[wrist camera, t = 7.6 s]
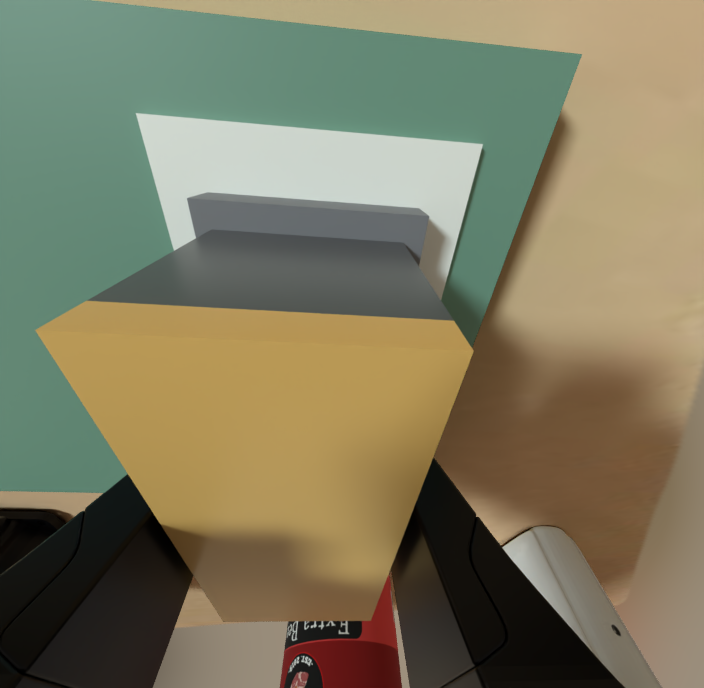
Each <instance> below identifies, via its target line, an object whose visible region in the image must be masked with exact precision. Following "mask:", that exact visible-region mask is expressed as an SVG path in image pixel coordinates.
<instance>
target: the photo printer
mask: <svg viewBox="0 0 704 688" xmlns="http://www.w3.org/2000/svg"><path fill="white" fill-rule="evenodd" d="M502 548H503V549H504V551H505V552H506V553H507V554H508V556H509V557H510V558H511V559H512V561H513V562H514V563H515V564H516V565H517V566H518V568H519V569H520V570H521V571H522V572H523V573H524V575H525V576H526V577H527V578H528V579H529V580H530V582H531V583H532V584H533V585H534V586H535V588H536V589H537V590H538V591H539V592H540V593H541V594H542V595H543V597H544V598H545V599H546V600H547V601H548V602H549V603H550V605H551V606H552V607H553V608H554V609H555V610H556V611H557V612H558V614H559V615H560V616H561V617H562V618H563V619H564V620H565V622H566V623H567V624H568V625H569V626H570V627H571V628H572V629H573V631H574V632H575V633H576V634H577V635H578V636H579V637H580V639H581V640H582V641H583V642H584V643H585V644H586V645H587V646H588V648H589V649H590V650H591V651H592V652H593V653H594V654H595V656H596V657H597V658H598V659H599V660H600V661H601V662H602V663H603V665H604V666H605V667H606V668H607V669H608V670H609V671H610V672H611V673H612V674H613V676H614V677H615V678H616V679H617V680H618V681H619V682H620V683H621V684H622V685H623V686H624V687H625V688H662V686H661V685H660V683H659V681H658V680H657V678H656V676H655V675H654V673H653V672H652V670H651V668H650V666H649V665H648V663H647V661H646V660H645V658H644V656H643V655H642V653H641V651H640V650H639V648H638V646H637V645H636V643H635V641H634V640H633V638H632V636H631V635H630V633H629V631H628V630H627V628H626V626H625V625H624V623H623V621H622V620H621V618H620V616H619V615H618V613H617V611H616V610H615V608H614V606H613V604H612V603H611V601H610V599H609V598H608V596H607V595H606V593H605V591H604V589H603V588H602V586H601V584H600V583H599V581H598V579H597V578H596V576H595V574H594V573H593V571H592V569H591V568H590V566H589V564H588V563H587V561H586V559H585V558H584V556H583V554H582V552H581V551H580V549H579V548H578V546H577V545H576V543H575V542H574V541H573V539H572V538H571V537H568V536H567V535H566V533H565V532H564V531H563V530H561V529H559V528H557V527H552V526H537V527H533V528H531V529H530V530H529V531H527V532H525V533H523V534H521V535H520V536H518V537H516V538H515V539H514V540H512V541H511V542H509V543H508V544H506V545H505V546H504V547H502Z"/></svg>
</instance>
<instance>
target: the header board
mask: <svg viewBox="0 0 704 688" xmlns="http://www.w3.org/2000/svg"><path fill="white" fill-rule="evenodd" d="M581 56H582V54H574V53H565V52H556V51H547V50H538V49H528V48H519V47H510V46H501V45H492V44H483V43H474V42H465V41H456V40H447V39H437V38H428V37H419V36H410V35H401V34H392V33H383V32H374V31H365V30H356V29H346V28H337V27H328V26H319V25H310V24H301V23H292V22H283V21H274V20H265V19H255V18H246V17H237V16H228V15H219V14H210V13H201V12H192V11H183V10H174V9H164V8H155V7H146V6H137V5H128V4H119V3H110V2H101V1H92V0H0V491H31V492H88V493H105V492H106V491H107V490H108V489H110V488H111V487H112V486H113V485H114V484H116V483H117V482H118V481H119V480H121V479H122V478H123V477H124V476H126V475H127V474H128V473H127V472H126V470H125V469H124V467H123V466H122V464H121V462H120V461H119V459H118V458H117V456H116V455H115V453H114V452H113V450H112V448H111V447H110V445H109V444H108V442H107V441H106V439H105V438H104V436H103V435H102V433H101V431H100V430H99V428H98V427H97V425H96V424H95V422H94V421H93V419H92V418H91V416H90V414H89V413H88V411H87V410H86V408H85V407H84V405H83V404H82V402H81V401H80V399H79V397H78V396H77V394H76V393H75V391H74V390H73V388H72V387H71V385H70V383H69V382H68V380H67V379H66V377H65V376H64V374H63V373H62V371H61V370H60V368H59V366H58V365H57V363H56V362H55V360H54V359H53V357H52V356H51V354H50V353H49V351H48V349H47V348H46V346H45V345H44V343H43V342H42V340H41V339H40V337H39V335H38V334H37V332H36V331H35V330H36V329H38V328H39V327H41V326H43V325H45V324H46V323H48V322H50V321H52V320H54V319H55V318H57V317H59V316H61V315H62V314H64V313H66V312H68V311H69V310H71V309H73V308H75V307H76V306H78V305H80V304H82V303H83V302H85V301H87V300H89V299H90V298H92V297H94V296H96V295H97V294H99V293H101V292H103V291H104V290H106V289H108V288H110V287H111V286H113V285H115V284H117V283H118V282H120V281H122V280H124V279H125V278H127V277H129V276H131V275H132V274H134V273H136V272H138V271H139V270H141V269H143V268H145V267H146V266H148V265H150V264H152V263H153V262H155V261H157V260H159V259H161V258H162V257H164V256H166V255H168V254H169V253H171V252H173V251H175V250H176V249H178V248H180V247H182V246H183V245H185V244H187V243H189V242H190V241H192V240H194V239H196V238H197V237H199V236H201V235H203V234H204V233H206V232H208V231H210V230H211V229H214V230H228V231H242V232H257V233H271V234H286V235H300V236H315V237H329V238H343V239H358V240H372V241H387V242H401V243H404V244H405V246H406V247H407V249H408V251H409V252H410V254H411V255H412V257H413V258H414V260H415V261H416V263H417V264H418V266H419V267H420V269H421V271H422V272H423V274H424V275H425V277H426V278H427V280H428V281H429V283H430V284H431V286H432V287H433V289H434V291H435V292H436V294H437V295H438V297H439V298H440V300H441V301H442V303H443V304H444V306H445V308H446V309H447V311H448V312H449V314H450V315H451V317H452V318H453V320H454V321H455V323H456V324H457V326H458V328H459V329H460V331H461V332H462V334H463V335H464V337H465V338H466V340H467V341H468V343H469V345H470V346H471V348H472V347H473V344H474V342H475V339H476V336H477V334H478V331H479V328H480V326H481V323H482V320H483V317H484V315H485V312H486V309H487V307H488V304H489V301H490V299H491V296H492V293H493V291H494V288H495V285H496V283H497V280H498V277H499V275H500V272H501V269H502V267H503V264H504V261H505V259H506V256H507V253H508V251H509V248H510V245H511V243H512V240H513V237H514V235H515V232H516V229H517V227H518V224H519V221H520V219H521V216H522V213H523V211H524V208H525V205H526V203H527V200H528V197H529V195H530V192H531V189H532V187H533V184H534V181H535V179H536V176H537V173H538V171H539V168H540V165H541V163H542V160H543V157H544V155H545V152H546V149H547V147H548V144H549V141H550V139H551V136H552V133H553V131H554V128H555V125H556V123H557V120H558V117H559V114H560V112H561V109H562V106H563V104H564V101H565V98H566V96H567V93H568V90H569V88H570V85H571V82H572V80H573V77H574V74H575V72H576V69H577V66H578V64H579V61H580V58H581Z"/></svg>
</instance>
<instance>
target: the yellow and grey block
mask: <svg viewBox="0 0 704 688" xmlns="http://www.w3.org/2000/svg"><path fill="white" fill-rule="evenodd" d="M35 331H36V332H37V334H38V335H39V337H40V339H41V340H42V342H43V343H44V345H45V346H46V348H47V349H48V351H49V353H50V354H51V356H52V357H53V359H54V360H55V362H56V363H57V365H58V366H59V368H60V370H61V371H62V373H63V374H64V376H65V377H66V379H67V380H68V382H69V383H70V385H71V387H72V388H73V390H74V391H75V393H76V394H77V396H78V397H79V399H80V401H81V402H82V404H83V405H84V407H85V408H86V410H87V411H88V413H89V414H90V416H91V418H92V419H93V421H94V422H95V424H96V425H97V427H98V428H99V430H100V431H101V433H102V435H103V436H104V438H105V439H106V441H107V442H108V444H109V445H110V447H111V448H112V450H113V452H114V453H115V455H116V456H117V458H118V459H119V461H120V462H121V464H122V466H123V467H124V469H125V470H126V472H127V473H128V475H129V476H130V478H131V479H132V481H133V483H134V484H135V486H136V487H137V489H138V490H139V492H140V493H141V495H142V496H143V498H144V500H145V501H146V503H147V504H148V506H149V507H150V509H151V510H152V512H153V514H154V515H155V517H156V518H157V520H158V521H159V523H160V524H161V526H162V527H163V529H164V531H165V532H166V534H167V535H168V537H169V538H170V540H171V541H172V543H173V544H174V546H175V548H176V549H177V551H178V552H179V554H180V555H181V557H182V558H183V560H184V562H185V563H186V565H187V566H188V568H189V569H190V571H191V572H192V574H193V575H194V577H195V579H196V580H197V582H198V583H199V585H200V586H201V588H202V589H203V591H204V592H205V594H206V596H207V597H208V599H209V600H210V602H211V603H212V605H213V606H214V608H215V610H216V611H217V613H218V614H219V616H220V617H221V619H222V620H223V622H259V621H371V619H372V616H373V614H374V611H375V608H376V606H377V603H378V600H379V598H380V595H381V593H382V590H383V587H384V585H385V582H386V580H387V577H388V574H389V572H390V569H391V566H392V564H393V561H394V559H395V556H396V553H397V551H398V548H399V546H400V543H401V540H402V538H403V535H404V532H405V530H406V527H407V525H408V522H409V519H410V517H411V514H412V512H413V509H414V506H415V504H416V501H417V498H418V496H419V493H420V491H421V488H422V485H423V483H424V480H425V478H426V475H427V472H428V470H429V467H430V464H431V462H432V459H433V457H434V454H435V451H436V449H437V446H438V444H439V441H440V438H441V436H442V433H443V430H444V428H445V425H446V423H447V420H448V417H449V415H450V412H451V410H452V407H453V404H454V402H455V399H456V396H457V394H458V391H459V389H460V386H461V383H462V381H463V378H464V376H465V373H466V370H467V368H468V365H469V362H470V360H471V357H472V355H473V352H474V351H473V349H472V348H471V346H470V345H469V343H468V341H467V340H466V338H465V337H464V335H463V334H462V332H461V331H460V329H459V328H458V326H457V324H456V323H455V321H454V320H453V318H452V317H451V315H450V314H449V312H448V311H447V309H446V308H445V306H444V304H443V303H442V301H441V300H440V298H439V297H438V295H437V294H436V292H435V291H434V289H433V287H432V286H431V284H430V283H429V281H428V280H427V278H426V277H425V275H424V274H423V272H422V271H421V269H420V267H419V266H418V264H417V263H416V261H415V260H414V258H413V257H412V255H411V254H410V252H409V251H408V249H407V247H406V246H405V244H404V243H401V242H387V241H372V240H358V239H343V238H329V237H315V236H300V235H286V234H271V233H257V232H242V231H228V230H214V229H211V230H210V231H208V232H206V233H204V234H203V235H201V236H199V237H197V238H196V239H194V240H192V241H190V242H189V243H187V244H185V245H183V246H182V247H180V248H178V249H176V250H175V251H173V252H171V253H169V254H168V255H166V256H164V257H162V258H161V259H159V260H157V261H155V262H153V263H152V264H150V265H148V266H146V267H145V268H143V269H141V270H139V271H138V272H136V273H134V274H132V275H131V276H129V277H127V278H125V279H124V280H122V281H120V282H118V283H117V284H115V285H113V286H111V287H110V288H108V289H106V290H104V291H103V292H101V293H99V294H97V295H96V296H94V297H92V298H90V299H89V300H87V301H85V302H83V303H82V304H80V305H78V306H76V307H75V308H73V309H71V310H69V311H68V312H66V313H64V314H62V315H61V316H59V317H57V318H55V319H54V320H52V321H50V322H48V323H46V324H45V325H43V326H41V327H39V328H38V329H36V330H35Z"/></svg>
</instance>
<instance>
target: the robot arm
mask: <svg viewBox="0 0 704 688" xmlns="http://www.w3.org/2000/svg"><path fill="white" fill-rule="evenodd" d="M391 571H392V577H393V584H394V590H395V596H396V603H397V609H398V615H399V621H400V627H401V634H402V640H403V647H404V653H405V659H406V666H407V672H408V678H409V684H410V688H625V687H624V686H623V685H622V684H621V683H620V682H619V681H618V680H617V679H616V678H615V677H614V676H613V674H612V673H611V672H610V671H609V670H608V669H607V668H606V667H605V666H604V665H603V663H602V662H601V661H600V660H599V659H598V658H597V657H596V656H595V654H594V653H593V652H592V651H591V650H590V649H589V648H588V646H587V645H586V644H585V643H584V642H583V641H582V640H581V639H580V637H579V636H578V635H577V634H576V633H575V632H574V631H573V629H572V628H571V627H570V626H569V625H568V624H567V623H566V622H565V620H564V619H563V618H562V617H561V616H560V615H559V614H558V612H557V611H556V610H555V609H554V608H553V607H552V606H551V605H550V603H549V602H548V601H547V600H546V599H545V598H544V597H543V595H542V594H541V593H540V592H539V591H538V590H537V589H536V588H535V586H534V585H533V584H532V583H531V582H530V580H529V579H528V578H527V577H526V576H525V575H524V573H523V572H522V571H521V570H520V569H519V568H518V566H517V565H516V564H515V563H514V562H513V561H512V559H511V558H510V557H509V556H508V554H507V553H506V552H505V551H504V549H503V548H502V547H501V545H500V544H499V543H498V542H497V540H496V539H495V538H494V537H493V535H492V534H491V533H490V531H489V530H488V529H487V527H486V526H485V525H484V523H483V522H482V521H481V519H480V518H479V517H476V513H475V512H474V510H473V509H472V508H471V506H470V505H469V504H468V502H467V501H466V500H465V498H464V497H463V496H462V494H461V493H460V492H459V490H458V489H457V488H456V486H455V485H454V484H453V482H452V481H451V480H450V478H449V477H448V476H447V474H446V473H445V472H444V470H443V469H442V468H441V466H440V465H439V464H438V462H437V461H436V460H435V458H434V457H433V459H432V462H431V464H430V467H429V470H428V472H427V475H426V478H425V480H424V483H423V485H422V488H421V491H420V493H419V496H418V498H417V501H416V504H415V506H414V509H413V512H412V514H411V517H410V519H409V522H408V525H407V527H406V530H405V532H404V535H403V538H402V540H401V543H400V546H399V548H398V551H397V553H396V556H395V559H394V561H393V564H392V566H391ZM192 578H193V574H192V572H191V571H190V569H189V568H188V566H187V565H186V563H185V562H184V560H183V558H182V557H181V555H180V554H179V552H178V551H177V549H176V548H175V546H174V544H173V543H172V541H171V540H170V538H169V537H168V535H167V534H166V532H165V531H164V529H163V527H162V526H161V524H160V523H159V521H158V520H157V518H156V517H155V515H154V514H153V512H152V510H151V509H150V507H149V506H148V504H147V503H146V501H145V500H144V498H143V496H142V495H141V493H140V492H139V490H138V489H137V487H136V486H135V484H134V483H133V481H132V479H131V478H130V476H129V475H128V474H127V475H126V476H124V477H123V478H122V479H121V480H119V481H118V482H117V483H116V484H114V485H113V486H112V487H111V488H110V489H108V490H107V491H106V492H105V493H103V494H102V495H101V496H100V497H99V498H97V499H96V500H95V501H94V502H92V503H91V504H90V505H89V506H88V507H86V509H85V511H82V512H80V513H79V514H77V515H76V516H75V517H74V518H73V519H71V520H70V521H69V522H68V523H66V524H64V523H63V522H62V521H61V520H60V519H59V518H58V517H57V516H55V515H54V514H51V513H48V512H17V511H0V688H153V685H154V682H155V679H156V677H157V674H158V671H159V669H160V666H161V663H162V660H163V657H164V655H165V652H166V649H167V646H168V644H169V641H170V638H171V635H172V633H173V630H174V627H175V625H176V622H177V619H178V616H179V614H180V611H181V608H182V605H183V603H184V600H185V597H186V594H187V592H188V589H189V586H190V583H191V581H192Z"/></svg>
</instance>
